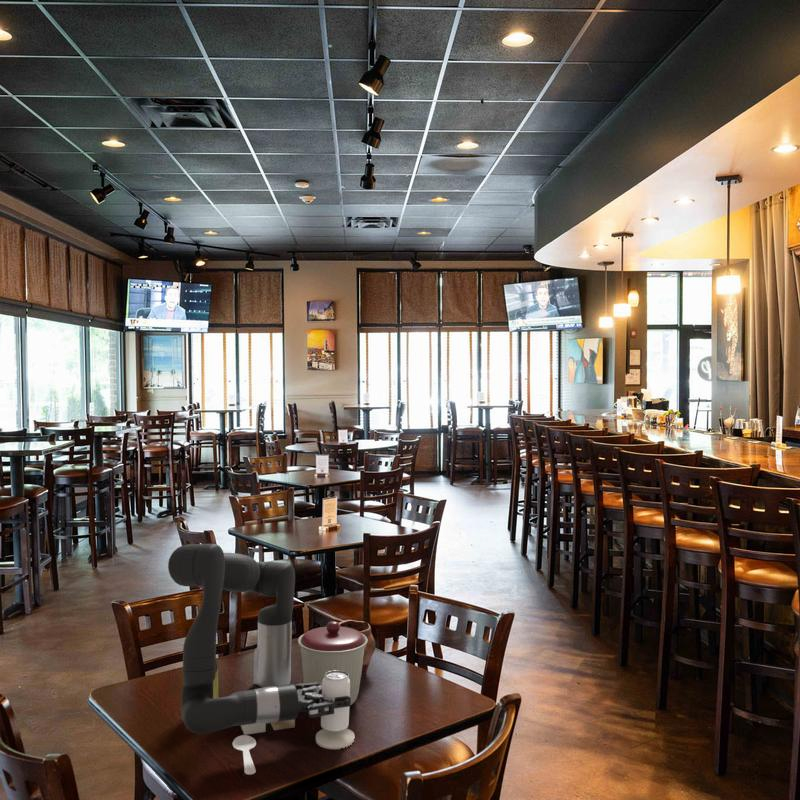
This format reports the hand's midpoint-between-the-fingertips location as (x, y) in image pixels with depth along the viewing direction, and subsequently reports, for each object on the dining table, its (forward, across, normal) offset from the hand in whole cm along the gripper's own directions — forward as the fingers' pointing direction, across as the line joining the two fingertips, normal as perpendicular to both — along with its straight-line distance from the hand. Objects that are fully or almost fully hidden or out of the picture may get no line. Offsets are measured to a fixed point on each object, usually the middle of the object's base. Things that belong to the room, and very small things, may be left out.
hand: (345, 695), depth 171 cm
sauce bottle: (-29, +24, +11) cm, 39 cm away
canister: (+3, +20, +10) cm, 23 cm away
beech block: (-12, +12, +10) cm, 20 cm away
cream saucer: (-2, 0, +10) cm, 10 cm away
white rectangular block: (-19, +12, +10) cm, 25 cm away
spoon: (-23, 0, +11) cm, 25 cm away
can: (-2, 0, +7) cm, 8 cm away
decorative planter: (+14, +37, +10) cm, 41 cm away
